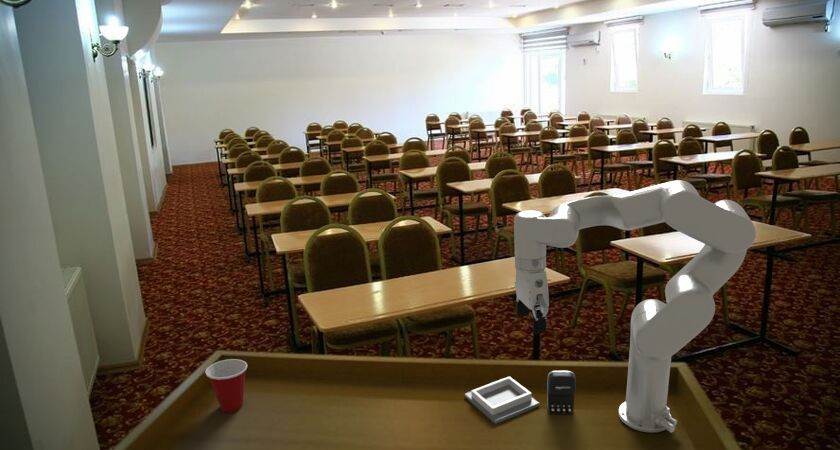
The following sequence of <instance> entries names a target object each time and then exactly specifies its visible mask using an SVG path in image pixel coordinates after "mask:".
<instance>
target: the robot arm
mask: <svg viewBox="0 0 840 450" xmlns="http://www.w3.org/2000/svg"><path fill="white" fill-rule="evenodd" d="M513 219H514V220H513V232H514V233H513V235H514V268H515V281H514V286H515V294H516V297H515V298H516V299H515V300H516V317H518V318H523V317H528V316H530V310H531V311H532V314H533V317H534V318H533V319H532V334H534V335H539V334H544V333H545V334H546V332H547V319H548V314H549V313H548V312H549V306H550V303H549V302H550V301H549V300H550V295H549V284H548V276H547V271H546V268H547V246H548V247H549V246H550V247H555V248H561V249H562V248H569V247H571V246H572V245H574V244H575V243H576V242H577V241H578V237H579V234H580V233H579V232H580V230H583V229H586V228H587V229H588V228H591V227H597V226H610V227H613V228H617V229H619V230H624V231H632V230H633V231H634V230H637V229H641V228H645V227H649V226H653V225H658V224H661V223H666V225H668V226H669V227H671V228H672V229H674V230H676V231H678V232H679V233H681V234H682V235H683V234H684V235H686V236H688V237H689V238H692V239H693V240H696V241H698V242H700V243H703V244H704V245H703V247H702V248H701V250H699V251H698V253H697V254H696V255H695V256H694V257H693V258H692V259H691V260H689V262H688V263H687V264H685V265H684V266H683V267H682V268H681V269H680V270H678V272H676V274H675V275H673V276H672V277H671V278H670V279H669V281H667V283H666V284H665V289H664V293H665V294H664V295H665V299H666V303H665V302H664V301H661V300H659V299H655V298H654V299H652V298H650V299H649V298H648V299H645V300H642V301H641V302H639V303H638V304H637V305H636V306H635V307H634V309H633V311H632V313H631V318H630V335H629V336H630V341H629V355H628V367H627V369H628V370H627V382H626V393H625V401H624V402H622V403H621V404H620V405H619V408H618V418H619V419H620V420H621V422H623V423H624V424H625V425H626V426H628V427H629V428H631V429H633V430H636V431H639V432H644V433H650V434H651V433H660V432H663V431H668V432H669V433H671V434H673V433H674V431H675V430H676V426H677V424H678V420H677V419H675V418H674V417H672V415H671V412H670V410H671V408H670V407H668V406H667V403H668V402H667V401H668V393H669V383H670V382H669V381H670V372H671V364H672V363H671V362H672V356H674V355H675V354H677V353H678V352H679V351H680V350H682V349H683V348H684V347H685V346H687V344H689V343H690V342H691V341H692V340H693V339H694V338H696V337H697V336H698V335H699V334H700V333H701V332H702V331H704V330H705V328H707V326H708V325H710V323H711V321H712V320H713V318H714V315H715V312H716V303H715V299H714V295H715V293H717V291H719V290H720V289H721V288H722V287H723V286H724V285H725V283H727V282H728V280H730V278H732V276H734V275H735V273H737V271H738V270H739V269H740V267H741V266H742V265H743V262H744V260H745V257H746V255H747V251H748V249H749V248H751V247H752V246H753V245H754V242H755V240H756V236H757V235H756V234H757V232H756V227H755V225H754V222H753V221H752V219H751V218H750V217H749V215H748V213H747V212H746V210H745V209H744V208H743V207H742V206H741V205H740V204H739V203H737V202H736V201H734V200H731V199H722V200H721V199H720V200H718V201H716V202H714V203H713V202H711V201H709V200H707V199H706V198H703V196H700V194H699V192H698V191H697V189H696V188H695V187H694V185H693V184H692V183H690V182H689V181H685V180H682V179H681V180H680V179H679V180H676V179H675V180H670V181H666V182H663V183H659V184H654V185H652V186H648V187H643V188H639V189H636V190H632V191H628V192H624V193H619V194H607V195H596V196H588V197H583V198H579V199H576V200H572V201H568V202H566V203H562V204H559V205H557V206H556V207H554V208H553V209H552V210H551V211H550V213H549V216H548V217H546V215H545V214H544V213H543V212H541V211H538V210H531V209H530V210H522V211H519V212H517V213H516V214H515V215H514V218H513ZM538 305H539V306H538ZM538 310H539V311H540V312H537V311H538Z"/></svg>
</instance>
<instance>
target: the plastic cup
mask: <svg viewBox="0 0 840 450" xmlns="http://www.w3.org/2000/svg"><path fill="white" fill-rule="evenodd" d="M247 368H248V363H247V362H246V361H244V360H242V359H235V358H229V359H223V360H219V361H217V362H214V363H212V364H210V365H209V366H207V367H206V369H205V375H206V377H208V380H209V381H210V384H211V386H212V388H213V392H214V394H215V397H216V400H217V401H218V404H219V408H220V409H221V410H222V411H223V412H225V413H233V412H236V411H238V410H240V409H241V408H243V404H244V394H245V381H246V380H245V376H246V371H247Z"/></svg>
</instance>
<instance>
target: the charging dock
mask: <svg viewBox="0 0 840 450" xmlns="http://www.w3.org/2000/svg"><path fill="white" fill-rule="evenodd" d="M532 394H533V393H532V392H531V391H530V390H528V389H527V388H526V387H525V386H523V385H521V384H520V382H518V381H517V380H515V379H513V378H512V377H511V376H510V375H509V376H507V377H504V378H500V379H499V380H495V381H492V382H490V383H488V384H485V385H482V386H480V387H477V388H475V389H472V390H470V391H468V392H466V393H464V398H466V399H467V401H469V402H470V403H471V404H472V405H473V406H474V407H475V408H477V410H479V411H480V412H481V413H482V414H484V415H485V416H486V417H487V418H488V419H489V420H490V421H491V422H492V423H493V424H495V425H497V424H500V423H502V422H504V421H507V420H509V419H511V418H513V417H516V416H519V415H521V414H523V413H527V412H528V411H531V410H533V409H535V408H537V407H540V402H539V401H537V400H536V399H535V398H534V397H533V395H532Z"/></svg>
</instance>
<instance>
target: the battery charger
mask: <svg viewBox="0 0 840 450" xmlns="http://www.w3.org/2000/svg"><path fill="white" fill-rule="evenodd" d="M576 380H577V379H576V375H575V373H574V372H573V371H571V370H564V369H563V370H562V369H561V370H551V371H549V372H548V374H547V381H546V382H547V383H546V393H547V394H546V395H547V396H546V397H547V404H546V409H547V411H548V413H550V414H552V415H572V414H574V411H575V408H574V407H575V405H574V404H575V395H576V391H577V381H576Z"/></svg>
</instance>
